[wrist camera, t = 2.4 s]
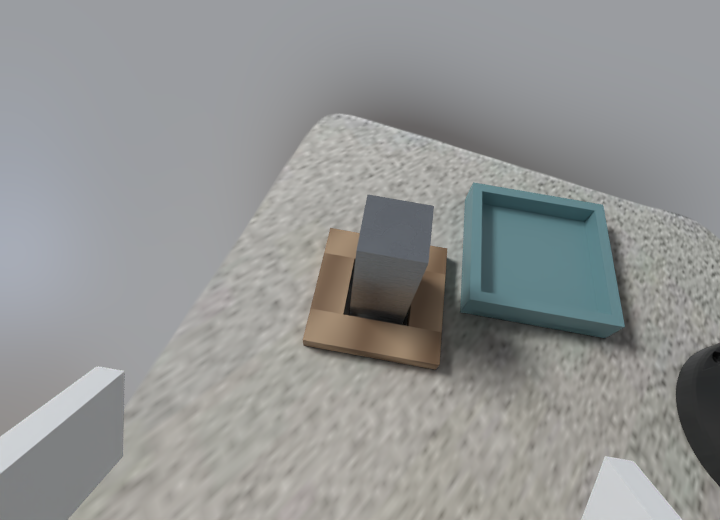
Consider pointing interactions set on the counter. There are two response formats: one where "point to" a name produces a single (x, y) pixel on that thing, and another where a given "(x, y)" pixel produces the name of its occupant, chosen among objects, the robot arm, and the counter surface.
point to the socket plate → (372, 336)
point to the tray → (539, 262)
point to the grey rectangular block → (390, 258)
